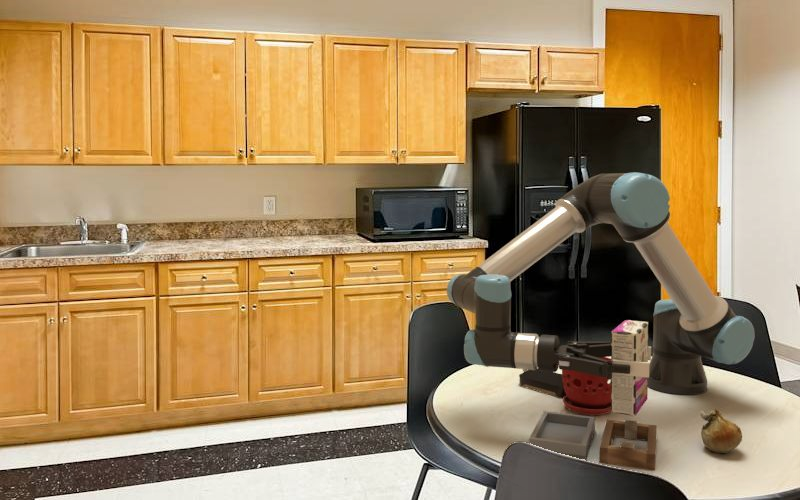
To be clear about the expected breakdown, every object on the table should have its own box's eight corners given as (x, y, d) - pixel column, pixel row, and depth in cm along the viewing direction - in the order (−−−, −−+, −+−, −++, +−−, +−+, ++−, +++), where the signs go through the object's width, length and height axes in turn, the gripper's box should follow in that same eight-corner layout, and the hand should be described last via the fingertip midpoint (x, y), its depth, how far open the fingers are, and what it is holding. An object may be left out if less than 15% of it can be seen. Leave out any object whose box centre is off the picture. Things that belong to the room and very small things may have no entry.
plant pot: (588, 423, 151) (589, 370, 149) (549, 405, 162) (550, 357, 161) (631, 413, 157) (632, 362, 155) (590, 397, 168) (591, 350, 167)
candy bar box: (623, 396, 140) (624, 319, 139) (648, 400, 138) (649, 321, 136) (608, 412, 131) (610, 330, 129) (635, 417, 128) (637, 333, 126)
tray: (594, 430, 146) (594, 417, 146) (585, 461, 130) (585, 446, 130) (543, 424, 150) (543, 411, 150) (528, 453, 134) (529, 438, 134)
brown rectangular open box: (656, 439, 141) (656, 420, 140) (654, 470, 126) (655, 449, 126) (606, 432, 145) (606, 414, 144) (599, 462, 130) (599, 442, 129)
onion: (700, 456, 132) (702, 416, 131) (698, 441, 140) (699, 404, 139) (743, 461, 130) (745, 421, 129) (738, 446, 137) (740, 408, 136)
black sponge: (585, 394, 172) (585, 379, 171) (565, 401, 166) (565, 386, 166) (534, 379, 184) (534, 366, 183) (514, 386, 178) (514, 372, 178)
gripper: (548, 355, 151) (651, 363, 143) (527, 387, 129) (647, 399, 121) (548, 322, 150) (652, 329, 142) (527, 348, 128) (648, 358, 120)
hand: (650, 361), depth 132 cm, fingers closed on candy bar box, 11 cm apart
